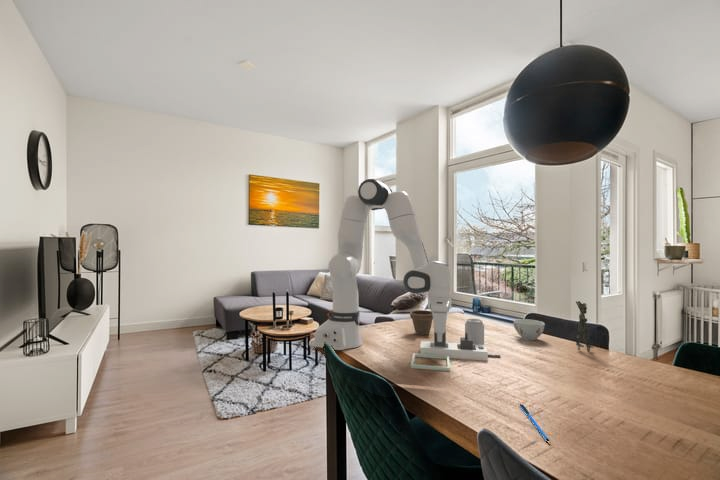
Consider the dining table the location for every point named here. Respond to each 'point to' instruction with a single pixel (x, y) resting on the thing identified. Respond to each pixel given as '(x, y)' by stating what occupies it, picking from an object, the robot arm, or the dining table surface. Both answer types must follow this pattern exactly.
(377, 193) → the robot arm
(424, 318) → the flower pot
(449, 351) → the white power strip
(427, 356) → the tray
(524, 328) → the teacup
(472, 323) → the can
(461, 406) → the dining table surface
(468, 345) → the twin plug
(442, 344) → the dark grey block
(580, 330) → the statue
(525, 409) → the pen
